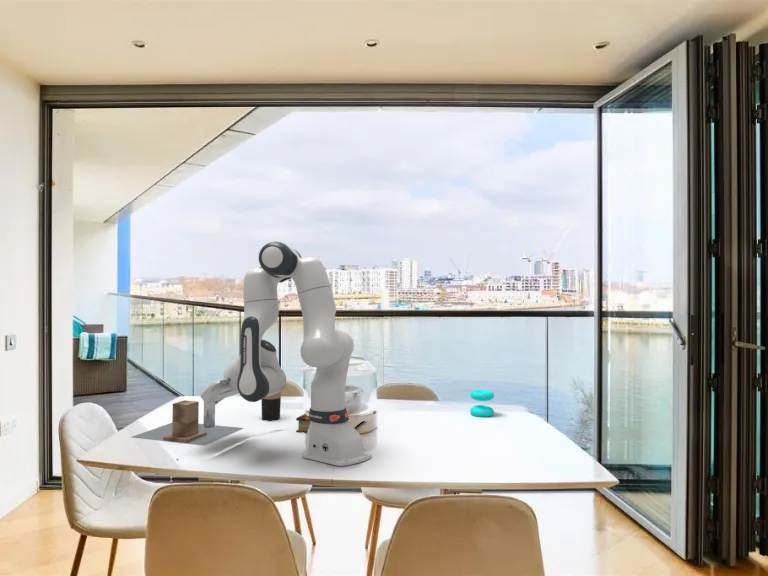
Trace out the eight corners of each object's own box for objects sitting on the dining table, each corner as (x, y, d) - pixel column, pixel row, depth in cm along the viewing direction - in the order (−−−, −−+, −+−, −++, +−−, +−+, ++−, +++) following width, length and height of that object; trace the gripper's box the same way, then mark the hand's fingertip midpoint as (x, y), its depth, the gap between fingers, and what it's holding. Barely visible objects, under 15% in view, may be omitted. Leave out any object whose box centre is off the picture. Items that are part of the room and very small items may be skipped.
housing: (206, 435, 193) (207, 400, 193) (188, 442, 184) (188, 406, 184) (182, 432, 196) (182, 398, 196) (163, 439, 187) (163, 404, 187)
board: (244, 430, 203) (244, 428, 203) (204, 448, 181) (204, 445, 181) (176, 423, 212) (176, 421, 212) (129, 440, 190) (129, 437, 190)
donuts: (495, 390, 237) (492, 394, 227) (495, 413, 237) (492, 418, 227) (472, 388, 240) (468, 392, 230) (472, 411, 240) (468, 416, 230)
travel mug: (270, 422, 217) (270, 371, 217) (257, 419, 221) (257, 369, 221) (284, 418, 223) (285, 369, 223) (271, 415, 227) (272, 367, 227)
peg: (216, 426, 204) (217, 399, 204) (206, 428, 202) (207, 401, 202) (211, 425, 207) (211, 398, 207) (201, 426, 204) (201, 399, 204)
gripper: (224, 389, 173) (198, 417, 176) (258, 379, 193) (234, 405, 196) (212, 374, 174) (186, 402, 177) (247, 365, 194) (223, 391, 197)
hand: (211, 404), depth 187 cm, fingers closed
